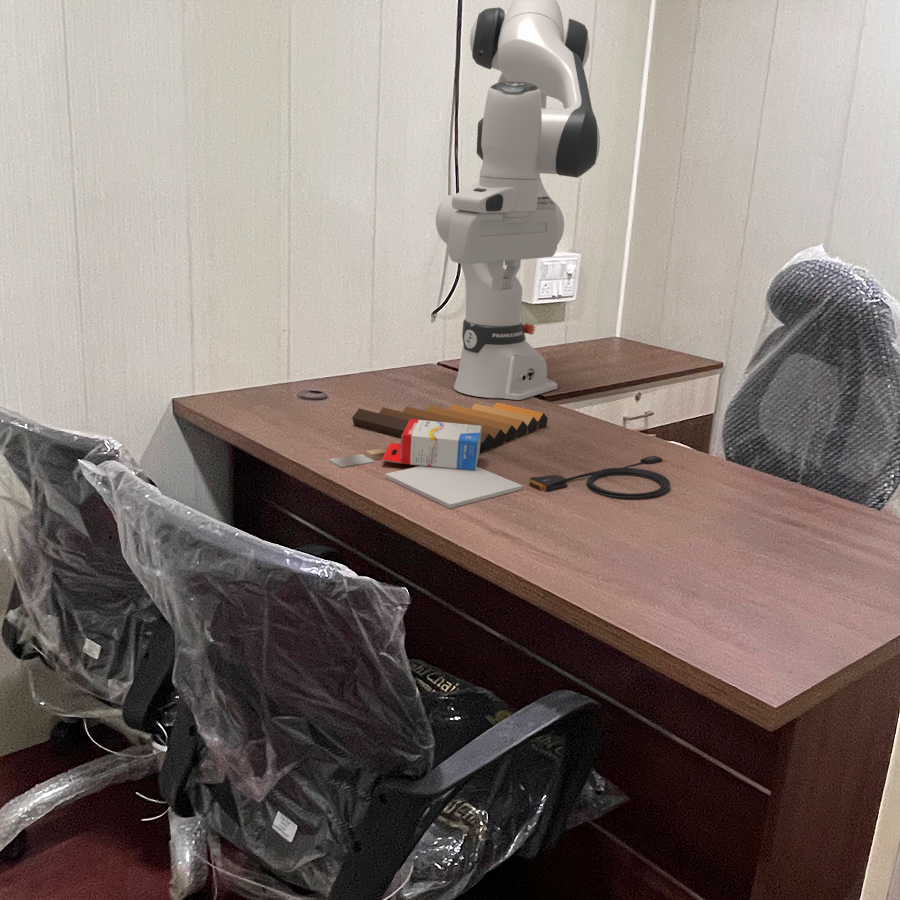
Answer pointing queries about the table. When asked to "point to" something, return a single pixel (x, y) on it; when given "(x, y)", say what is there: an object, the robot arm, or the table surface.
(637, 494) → the cable
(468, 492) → the mat
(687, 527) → the table surface
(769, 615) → the table surface
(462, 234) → the robot arm
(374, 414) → the pan flute
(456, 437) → the ink box
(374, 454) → the turner
